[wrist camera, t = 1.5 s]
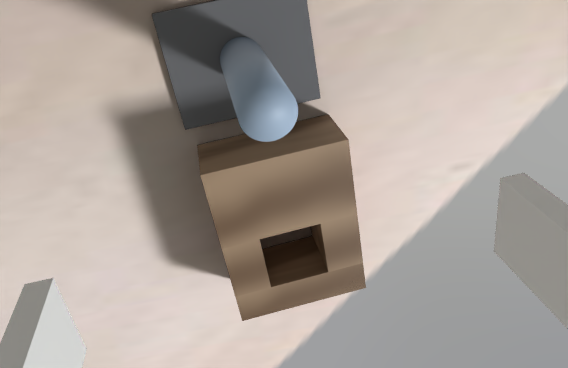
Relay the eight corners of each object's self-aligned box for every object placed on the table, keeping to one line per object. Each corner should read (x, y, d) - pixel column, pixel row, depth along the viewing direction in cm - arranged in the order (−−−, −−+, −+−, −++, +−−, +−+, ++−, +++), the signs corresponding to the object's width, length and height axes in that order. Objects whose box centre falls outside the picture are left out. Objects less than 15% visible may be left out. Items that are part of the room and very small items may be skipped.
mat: (151, 13, 32) (151, 14, 32) (302, -19, 33) (304, -18, 32) (185, 127, 36) (185, 129, 35) (319, 96, 37) (320, 98, 36)
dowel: (235, 27, 33) (260, 71, 23) (272, 53, 34) (309, 104, 25) (211, 65, 34) (225, 122, 24) (247, 89, 35) (275, 152, 25)
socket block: (197, 145, 37) (200, 175, 32) (328, 114, 37) (348, 139, 33) (235, 280, 43) (242, 320, 39) (346, 251, 44) (365, 287, 39)
